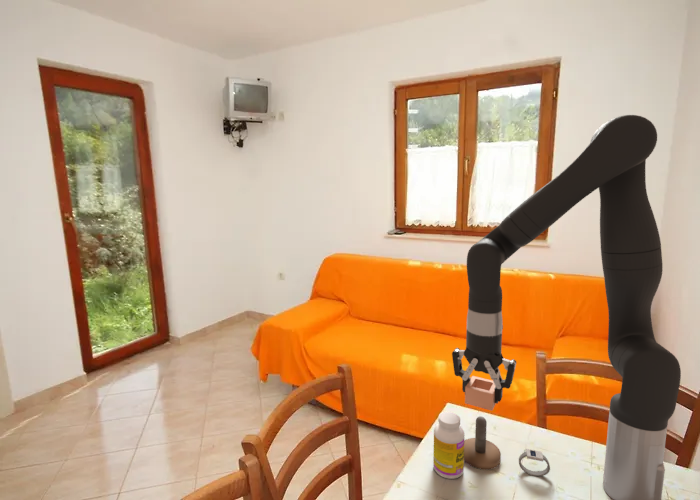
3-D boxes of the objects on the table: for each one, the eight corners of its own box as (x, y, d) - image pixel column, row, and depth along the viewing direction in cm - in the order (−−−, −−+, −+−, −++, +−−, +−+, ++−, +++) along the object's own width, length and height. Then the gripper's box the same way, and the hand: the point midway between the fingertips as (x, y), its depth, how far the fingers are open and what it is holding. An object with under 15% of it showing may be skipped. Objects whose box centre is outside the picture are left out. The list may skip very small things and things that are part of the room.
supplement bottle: (458, 484, 83) (459, 430, 81) (429, 473, 87) (429, 421, 84) (467, 465, 89) (468, 414, 87) (439, 455, 92) (439, 405, 90)
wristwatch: (548, 472, 86) (549, 452, 85) (550, 481, 83) (551, 460, 82) (517, 466, 88) (518, 446, 87) (518, 475, 85) (519, 454, 84)
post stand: (504, 451, 93) (505, 413, 91) (495, 475, 85) (497, 434, 84) (466, 439, 98) (467, 402, 96) (455, 460, 90) (456, 421, 89)
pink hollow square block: (498, 397, 90) (498, 382, 89) (492, 410, 85) (492, 394, 84) (472, 391, 93) (472, 375, 93) (464, 403, 88) (465, 387, 88)
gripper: (447, 328, 87) (446, 396, 90) (515, 340, 79) (512, 415, 82) (457, 318, 93) (456, 382, 96) (521, 328, 86) (518, 398, 88)
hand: (481, 397), depth 89 cm, fingers closed on pink hollow square block, 6 cm apart
